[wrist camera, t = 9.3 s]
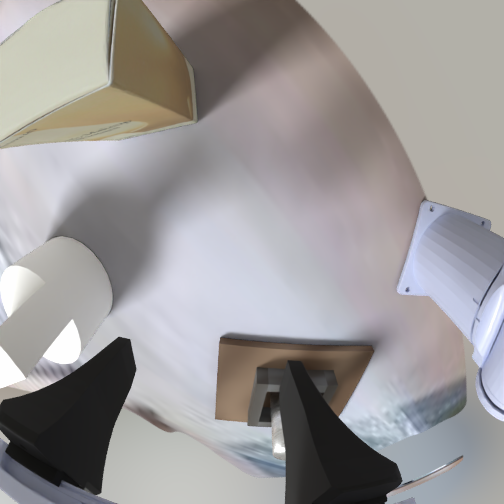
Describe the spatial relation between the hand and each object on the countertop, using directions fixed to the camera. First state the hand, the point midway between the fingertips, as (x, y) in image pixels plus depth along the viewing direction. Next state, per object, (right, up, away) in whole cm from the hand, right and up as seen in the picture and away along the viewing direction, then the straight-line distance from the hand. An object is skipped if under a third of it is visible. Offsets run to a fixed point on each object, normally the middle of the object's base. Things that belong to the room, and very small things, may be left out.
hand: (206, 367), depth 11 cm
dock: (+6, -8, +13) cm, 17 cm away
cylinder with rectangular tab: (-14, +2, +10) cm, 17 cm away
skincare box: (-5, +15, +4) cm, 16 cm away
